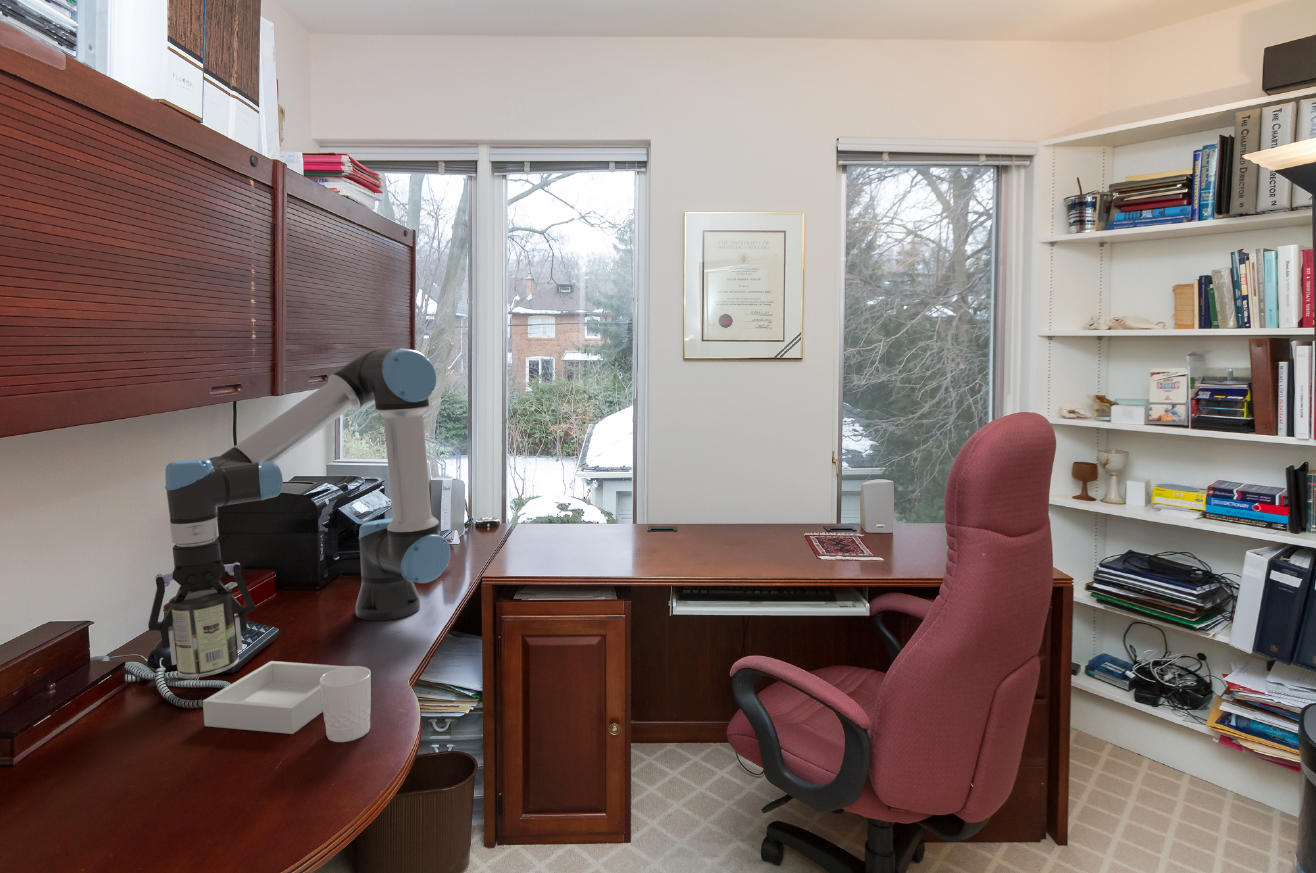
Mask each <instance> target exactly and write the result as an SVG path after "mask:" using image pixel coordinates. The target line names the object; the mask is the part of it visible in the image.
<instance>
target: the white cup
mask: <svg viewBox="0 0 1316 873" xmlns="http://www.w3.org/2000/svg"><path fill="white" fill-rule="evenodd" d="M347 666H348V665H347ZM371 673H372V672H371V669H370V668H368V667H365V666H361V665H360V666H359V665H350V666H348V667H342V668H338V669H334V670H332V671H329V672H327V673H325V674H324V675H323V676H322V677H321V678H320V689H321V698H322V707H323V712H322V713H323V721H324V724H325V734H326V737H327V739H328V741H331V742H334V743H346V742H352V741H355V740H358V739H360V738H362V737H364V736H365V735H367V734H368V733H369V731H370V729H371V709H372V708H371V703H372V701H371V700H372V698H371V697H372V692H371V691H372V689H371V688H372V687H371V686H372V684H371V683H372V682H371V681H372V680H371V679H372V677H371V676H372V674H371Z"/></svg>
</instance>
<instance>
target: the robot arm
mask: <svg viewBox="0 0 1316 873" xmlns="http://www.w3.org/2000/svg"><path fill="white" fill-rule="evenodd" d="M436 385H437V373H436V368H435V367H434V365H433V363H432V361H431V360H430V359H429V358H428V357H427V356H426V355H424V354H423V353H422V352H420V351H419V350H414V349H408V348H401V347H400V348H397V349H396V348H393V349H373V350H369V351H366V352H364V353H362V354H361V355H358V357H355V359H353V360H351V361H350V362H348V363H347V364H346V365H344V366H342V367H341V368H340V369H338V370H337V371H335V372H334V373H332V374H331V375H329V377H328V381H327V383H326V384H324V385H323V386H321V387H320V388H318V389H317V390H316V391H314V392H313V393H311V394H309V395H308V396H307V397H305V398H304V399H302V400H301V401H299V402H297V403H296V404H295V405H293V406H291V407H290V408H289V409H287V410H286V411H285V412H283V413H282V414H280V415H278V416H277V417H276V418H274V419H273V420H271V421H270V422H268V423H266V425H264V426H262V427H261V428H259V429H258V430H256V431H254V433H252V434H251V435H249V436H248V437H246V438H244V439H243V440H241V442H239V443H237V444H236V445H234V446H233V447H231V448H230V449H228V450H227V451H225V452H224V453H222V454H221V455H219V456H218V455H217V456H212V457H207V458H190V459H189V458H187V459H180V460H179V459H178V460H174V461H171V462H169V463H168V464H167V465H166V466H165V470H164V471H165V474H164V476H165V487H164V489H165V490H166V499H167V505H168V513H169V526H170V536H171V537H170V538H171V543H172V544H174V545H173V546H172V554H173V556H172V557H173V564H174V569H173V571H172V572H171V573H168V574H161V573H160V574H159V573H158V574H157V575H156V576H155V583H156V591H155V594H154V599H153V603H152V608H151V612H150V616H149V618H148V623H147V624H148V626H147V627H148V630H149V631H159V633H160V636H161V644H162V645H161V646H162V648H164V649H166V648H170V659H171V665H172V666H174V665H177V660H176V651H175V642H174V632H173V625H172V621H173V617H172V608H170V606H169V608H168V609H167V611H166V612H165V615H164V616H163V618H162V620H161V621H159V617H160V613H161V609H162V605H163V602H164V601H163V600H164V597H165V592H166V587H169V586H170V584H171V583H170V582H171V581H173V580H174V581H175V582H176V583H177V584H178V585H179V586H180V587H179V588H178V590H177V593H176V595H175V596H174V597H175V598H174V603H179V602H183V601H184V599H185V597H186V596H187V594H188V592H197V591H199V590H209V589H211V588H212V587H214V589H215V590H216V591H217V592H218V593H219V594H220V595H221V594H227V593H228V590H227V589H226V588H227V587H226V586H225V585H224V584H223V583H222V582H221V580H220V578H221V577H222V576H223V574H224V572H227V573H228V575H229V576H233V578H234V581H235V583H236V585H237V587H238V590H239V592H240V593H241V596H242V597H243V599H244V601H245V604H244V605H242V604H241V603H240V602H239V601H238V600H237V599H236V597H235V596H234V595H233V594H232V606H233V610H234V611H235V613H234V621H235V631H236V640H237V650H238V651H241V650H243V644H242V643H243V641H242V632H243V633H244V632H246V631H247V628H248V627H247V614H248V613H250V612H254V611H255V610H256V604H255V602H254V600H253V598H252V595H251V594H250V592H249V590H248V587H247V585H246V583H245V581H244V579H243V577H242V565H241V564H240V562H238V561H235V562H233V563H230V564H224V563H223V562H222V555H221V544H220V541H219V540H218V539H217V538H219V536H220V534H219V526H218V525H219V524H218V523H219V522H218V513H217V508H218V507H225V506H230V505H231V506H232V505H235V504H236V505H237V504H238V505H239V504H242V503H243V504H244V503H249V502H256V501H265V500H269V499H272V498H276V497H278V496H279V495H280V494H281V493H282V490H283V486H284V480H283V474H282V471H281V469H280V467H279V464H277V463H276V462H278V461H279V460H280V459H281V458H283V457H284V456H286V455H287V454H289V453H290V452H292V451H293V450H294V449H296V448H297V447H299V446H300V445H302V443H304V442H305V441H307V440H308V439H310V438H311V437H314V435H315V434H317V433H318V432H320V431H321V430H322V429H324V428H325V427H327V426H328V425H330V424H331V423H332V422H334V421H335V420H336V419H338V418H339V417H341V416H342V415H344V414H345V413H347V412H348V411H349V410H354V411H357V410H358V409H360V408H361V407H362V406H364V405H366V404H367V403H371V402H373V401H374V406H375V411H376V412H378V414H380V415H381V416H382V418H383V425H384V434H385V446H386V456H387V457H386V458H387V467H388V469H387V470H388V477H389V478H388V479H389V489H390V490H389V491H390V499H391V510H392V518H391V517H390V518H383V519H376V520H371V521H367V522H364V523H362V524H361V525H360V527H359V531H358V532H359V533H358V534H359V535H358V541H359V557H360V558H359V559H360V576H361V585H360V588H359V589H360V590H359V593H358V596H357V598H356V603H355V616H356V617H357V618H359V619H361V620H365V621H372V622H373V621H377V622H378V621H379V622H380V621H391V620H395V619H400V618H405V617H407V616H410V615H413V614H414V613H416V612H418V611H419V610H420V608H421V599H420V595H419V592H418V591H417V588H416V586H415V585H416V584H415V583H417V584H427V583H431V582H433V581H435V580H436V579H438V578H439V577H440V576H441V575H442V574H443V573H444V571H445V570H446V569H447V567H448V565H449V563H450V560H451V556H452V554H451V553H452V550H451V546H450V543H449V542H448V541H447V539H446V538H445V537H443V536H442V535H441V531H440V520H439V519H438V518H436V517H435V516H433V515H432V506H431V505H432V503H431V494H430V493H431V492H430V482H429V481H430V480H429V470H428V468H429V467H428V458H427V447H426V446H427V445H426V436H425V425H424V423H425V422H424V413H426V411H427V410H428V409H429V408H430V402H429V397H430V396H431V395H432V394H433V393H432V392H433V391H434V390H435V389H436Z"/></svg>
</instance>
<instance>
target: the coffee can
mask: <svg viewBox="0 0 1316 873" xmlns="http://www.w3.org/2000/svg"><path fill="white" fill-rule="evenodd" d="M225 588H226V589H227V590H228V593H227V594H221V595H220V594H219V593H218V592H217V591H216V590H215V589H214V587H212V588H211V589H209V590H199V591H197V592H188V594H187V596H186V597H185V599H184V601H183V602H179V603H174V598H175V596H173V597H172V598H170V599H169V601H168V605H169V607H170V608H172V617H173V621H172V623H171V626H173V632H174V642H175V651H176V661H177V664H176V667H177V675H178V676H180V677H182V678H190V679H191V678H193V679H194V678H195V679H196V678H203V677H209V676H213V675H217V674H219V673H223V672H225V671H227V670H230V669H231V668H234V667H235V666H236V665H237V664H238V663H239V661H240V658H239V652H238V649H237V640H236V631H235V621H234V614H235V613H234V611H235V610H234V609H233V606H232V595H233V590H232V588H229V587H225Z"/></svg>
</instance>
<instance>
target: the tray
mask: <svg viewBox="0 0 1316 873" xmlns="http://www.w3.org/2000/svg"><path fill="white" fill-rule="evenodd" d="M342 667H348V665H346V666H345V665H331V664H319V663H305V662H304V663H303V662H292V661H291V662H288V661H278V660H277V661H275V660H271V661H268V662H267V663H265V664H264V665H262V666H260V667H258V668H256V669H255V670H253V671H251V672H250V673H248V674H246V675H245V676H243V677H241V678H239V679H238V680H236V681H235V682H232V683H231V684H230V685H228V686H225V687H224V688H222V689H221V690H219V691H217V692H215V693H214V694H212V695H210V696H209V697H207V698H205V699H204V700H202V708H203V710H202V711H203V722H204V727H213V728H223V729H233V730H235V729H236V730H247V731H257V732H268V733H280V734H288V735H289V734H290V735H293V734H295V733H297V732H298V731H299V730H301V729H302V728H304V726H305V725H307V724H308V723H309V722H311V721H312V720H313V719H315V718H316V717H318V716H319V715H320V714H321V713H323V707H322V698H321V689H320V678H321V677H322V676H323V675H324V674H325V673H327V672H329V671H332V670H334V669H338V668H342Z"/></svg>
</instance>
